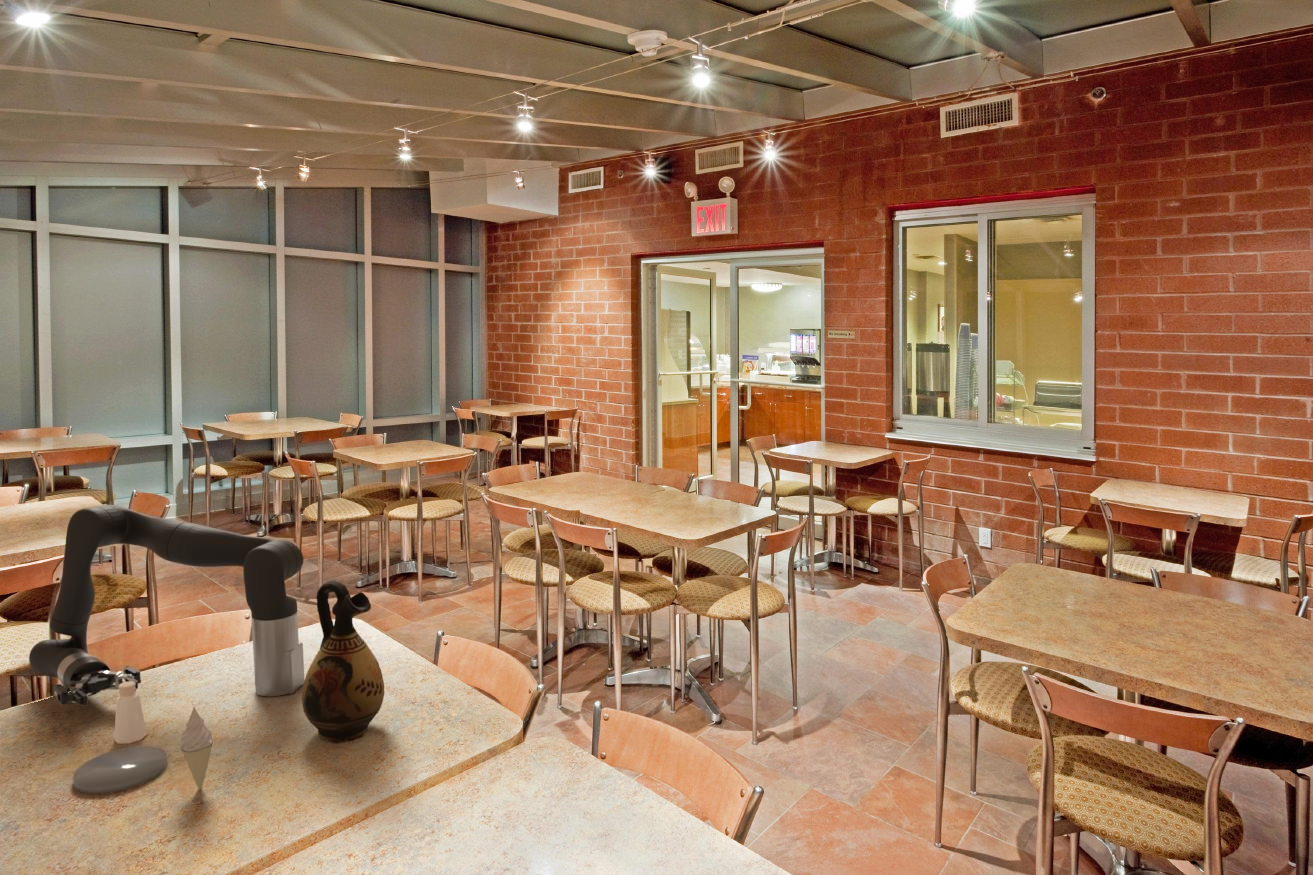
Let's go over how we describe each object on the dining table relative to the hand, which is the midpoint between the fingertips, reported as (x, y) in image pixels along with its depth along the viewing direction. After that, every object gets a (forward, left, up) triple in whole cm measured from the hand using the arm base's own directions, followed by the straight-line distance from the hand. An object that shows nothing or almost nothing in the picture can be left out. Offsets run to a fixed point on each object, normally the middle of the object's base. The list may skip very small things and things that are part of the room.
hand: (110, 693), depth 163 cm
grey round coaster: (-15, +19, -6) cm, 25 cm away
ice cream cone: (-32, +24, -6) cm, 40 cm away
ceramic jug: (-48, +2, -6) cm, 48 cm away
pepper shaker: (-8, +6, -6) cm, 12 cm away
